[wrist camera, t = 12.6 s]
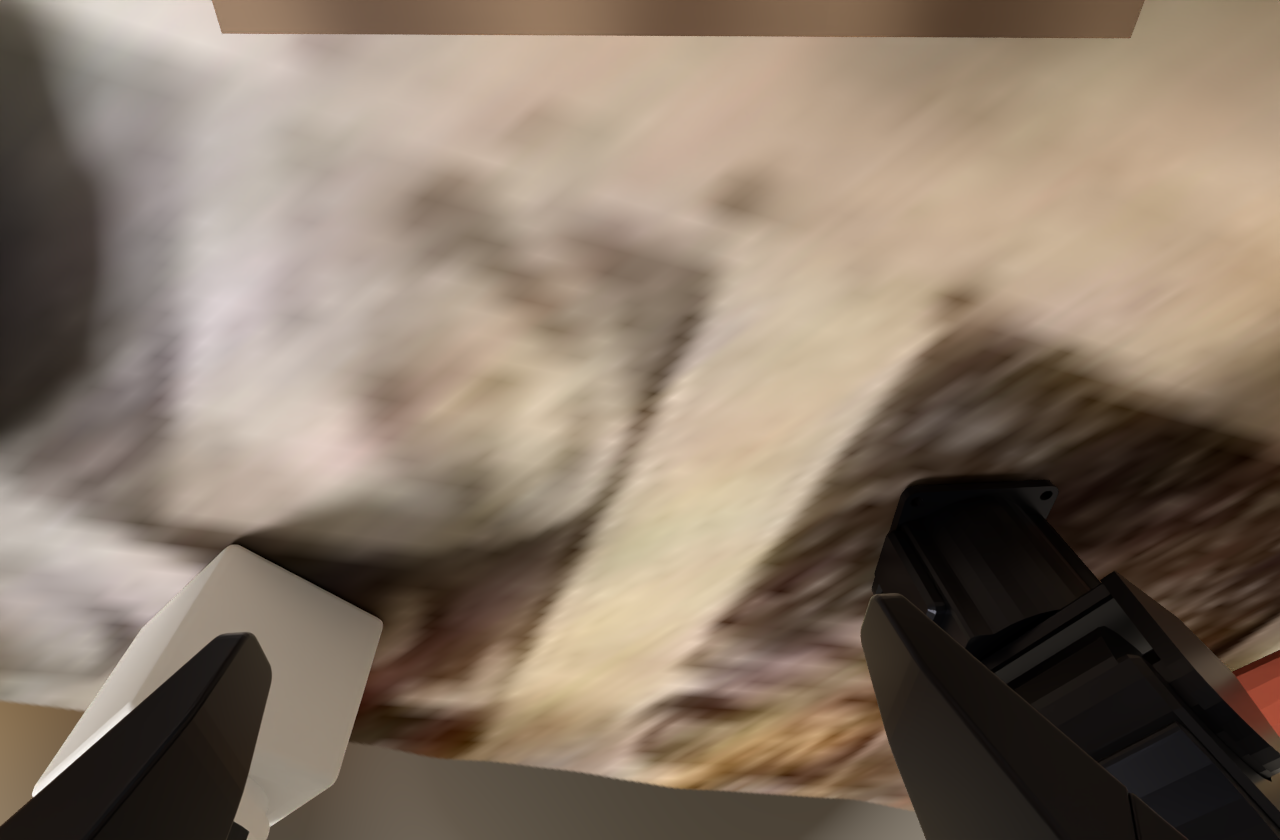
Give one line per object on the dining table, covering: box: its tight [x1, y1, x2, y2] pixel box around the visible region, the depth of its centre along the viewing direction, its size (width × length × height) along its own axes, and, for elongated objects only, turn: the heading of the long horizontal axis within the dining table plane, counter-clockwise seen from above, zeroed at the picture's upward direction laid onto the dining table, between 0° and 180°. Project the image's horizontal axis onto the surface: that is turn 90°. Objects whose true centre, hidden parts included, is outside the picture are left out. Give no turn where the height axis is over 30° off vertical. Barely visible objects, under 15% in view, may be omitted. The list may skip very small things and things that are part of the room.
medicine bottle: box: [32, 545, 383, 840], centre depth 23 cm, size 7×7×12 cm
